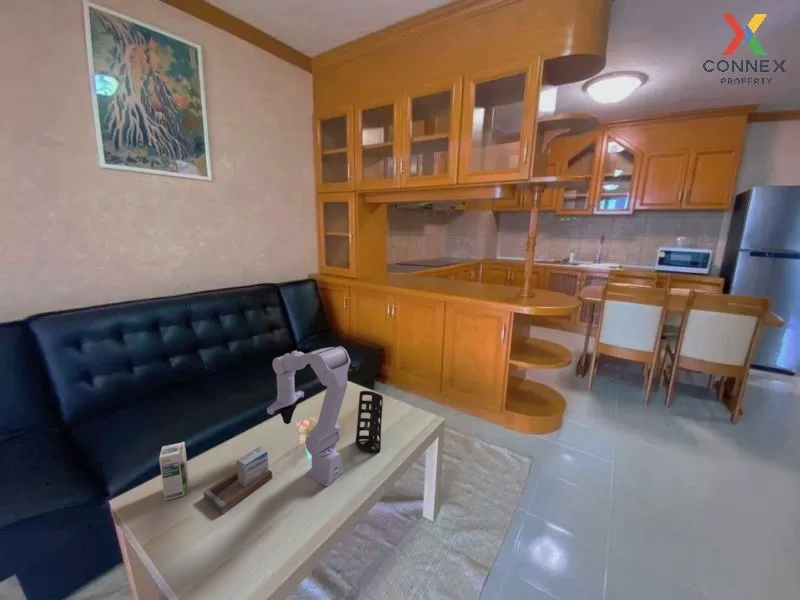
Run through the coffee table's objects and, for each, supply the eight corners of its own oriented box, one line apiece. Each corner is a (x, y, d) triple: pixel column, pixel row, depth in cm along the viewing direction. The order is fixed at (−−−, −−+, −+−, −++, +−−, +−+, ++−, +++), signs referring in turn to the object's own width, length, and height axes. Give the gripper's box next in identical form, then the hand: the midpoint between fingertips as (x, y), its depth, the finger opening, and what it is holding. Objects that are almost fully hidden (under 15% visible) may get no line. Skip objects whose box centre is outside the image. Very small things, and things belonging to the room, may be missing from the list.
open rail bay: (272, 478, 105) (272, 471, 105) (222, 514, 92) (222, 507, 91) (253, 466, 110) (253, 459, 109) (204, 499, 96) (203, 491, 96)
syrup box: (164, 501, 95) (158, 458, 92) (167, 487, 100) (161, 445, 97) (187, 495, 97) (182, 452, 94) (189, 481, 103) (184, 440, 99)
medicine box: (246, 490, 100) (244, 465, 98) (238, 483, 103) (236, 459, 101) (269, 474, 107) (268, 451, 105) (260, 468, 109) (259, 445, 107)
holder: (349, 446, 121) (354, 395, 118) (359, 436, 128) (364, 387, 125) (376, 455, 117) (381, 403, 114) (385, 445, 124) (390, 395, 121)
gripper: (294, 377, 123) (295, 409, 126) (260, 393, 111) (262, 428, 114) (307, 382, 120) (308, 415, 123) (274, 399, 108) (276, 436, 111)
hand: (287, 422), depth 118 cm, fingers closed
